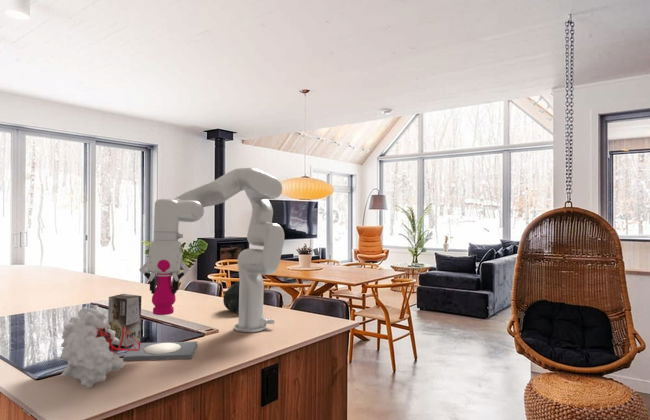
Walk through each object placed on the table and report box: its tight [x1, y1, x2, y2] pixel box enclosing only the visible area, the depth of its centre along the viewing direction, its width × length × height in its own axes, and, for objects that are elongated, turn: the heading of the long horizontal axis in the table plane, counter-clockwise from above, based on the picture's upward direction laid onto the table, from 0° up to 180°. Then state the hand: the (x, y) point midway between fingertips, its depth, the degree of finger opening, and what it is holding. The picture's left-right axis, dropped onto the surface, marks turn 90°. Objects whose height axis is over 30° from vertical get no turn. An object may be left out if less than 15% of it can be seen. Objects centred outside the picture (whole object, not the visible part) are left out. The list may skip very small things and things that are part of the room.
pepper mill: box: [151, 260, 177, 316], centre depth 137 cm, size 7×7×20 cm
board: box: [122, 340, 198, 362], centre depth 137 cm, size 20×14×1 cm
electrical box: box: [107, 293, 142, 348], centre depth 146 cm, size 9×6×16 cm
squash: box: [223, 281, 240, 314], centre depth 198 cm, size 14×15×15 cm
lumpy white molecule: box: [60, 304, 142, 389], centre depth 117 cm, size 20×18×25 cm
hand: (164, 292), depth 137 cm, fingers closed on pepper mill, 5 cm apart
